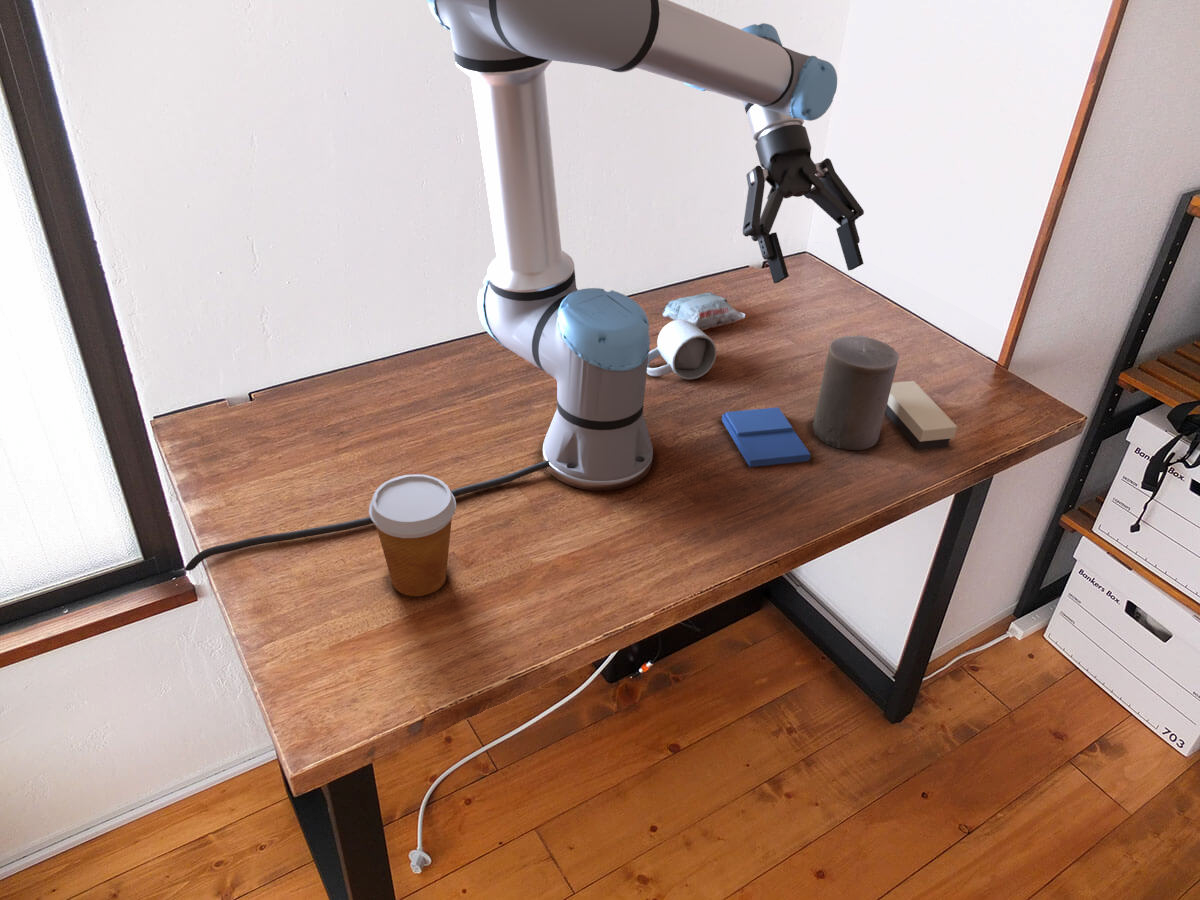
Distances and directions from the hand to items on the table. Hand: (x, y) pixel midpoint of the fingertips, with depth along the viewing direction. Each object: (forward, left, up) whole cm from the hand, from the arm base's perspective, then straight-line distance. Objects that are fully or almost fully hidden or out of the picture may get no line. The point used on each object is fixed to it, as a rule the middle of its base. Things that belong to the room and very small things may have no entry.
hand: (819, 273), depth 137 cm
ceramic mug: (-16, +11, -21) cm, 29 cm away
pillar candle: (+3, -11, -21) cm, 24 cm away
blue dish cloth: (-9, -11, -21) cm, 25 cm away
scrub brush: (+14, -11, -21) cm, 27 cm away
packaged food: (-7, +25, -21) cm, 33 cm away
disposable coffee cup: (-60, -31, -21) cm, 71 cm away
